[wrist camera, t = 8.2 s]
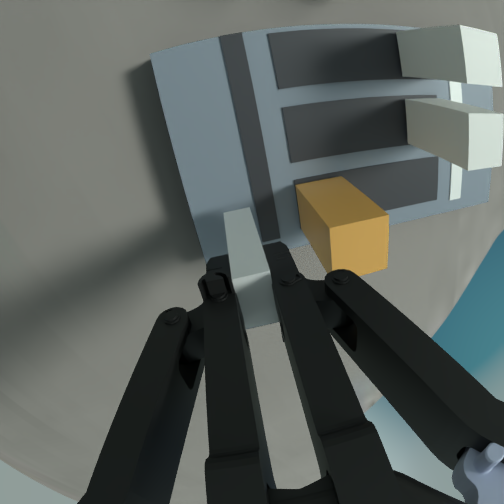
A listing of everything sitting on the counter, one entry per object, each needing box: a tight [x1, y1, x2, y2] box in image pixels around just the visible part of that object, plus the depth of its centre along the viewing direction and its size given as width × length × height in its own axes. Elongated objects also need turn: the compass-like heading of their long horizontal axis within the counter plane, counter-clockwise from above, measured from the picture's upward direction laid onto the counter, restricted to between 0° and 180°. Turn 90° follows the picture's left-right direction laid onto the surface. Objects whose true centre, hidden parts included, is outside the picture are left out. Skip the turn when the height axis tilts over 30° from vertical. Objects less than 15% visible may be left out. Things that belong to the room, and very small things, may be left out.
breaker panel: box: [150, 24, 503, 264], centre depth 16 cm, size 24×14×8 cm, turn 101°
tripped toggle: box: [295, 176, 389, 276], centre depth 17 cm, size 3×3×6 cm
